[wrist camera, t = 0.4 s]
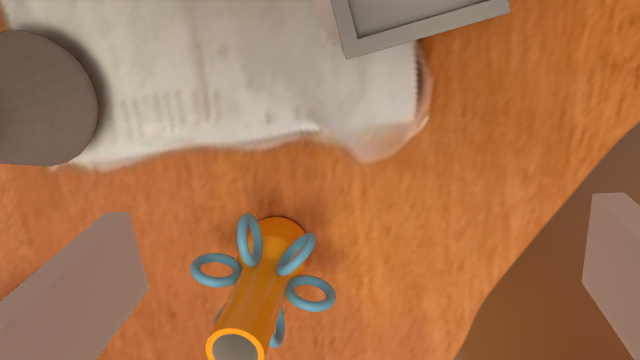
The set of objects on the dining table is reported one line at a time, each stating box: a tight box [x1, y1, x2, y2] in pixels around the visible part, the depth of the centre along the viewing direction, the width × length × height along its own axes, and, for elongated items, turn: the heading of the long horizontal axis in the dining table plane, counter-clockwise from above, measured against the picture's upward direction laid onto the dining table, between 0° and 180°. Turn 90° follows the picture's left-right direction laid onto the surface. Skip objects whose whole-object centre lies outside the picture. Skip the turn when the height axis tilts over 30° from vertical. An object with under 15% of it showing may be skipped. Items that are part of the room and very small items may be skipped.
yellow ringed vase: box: [190, 213, 336, 360], centre depth 39 cm, size 12×10×15 cm
